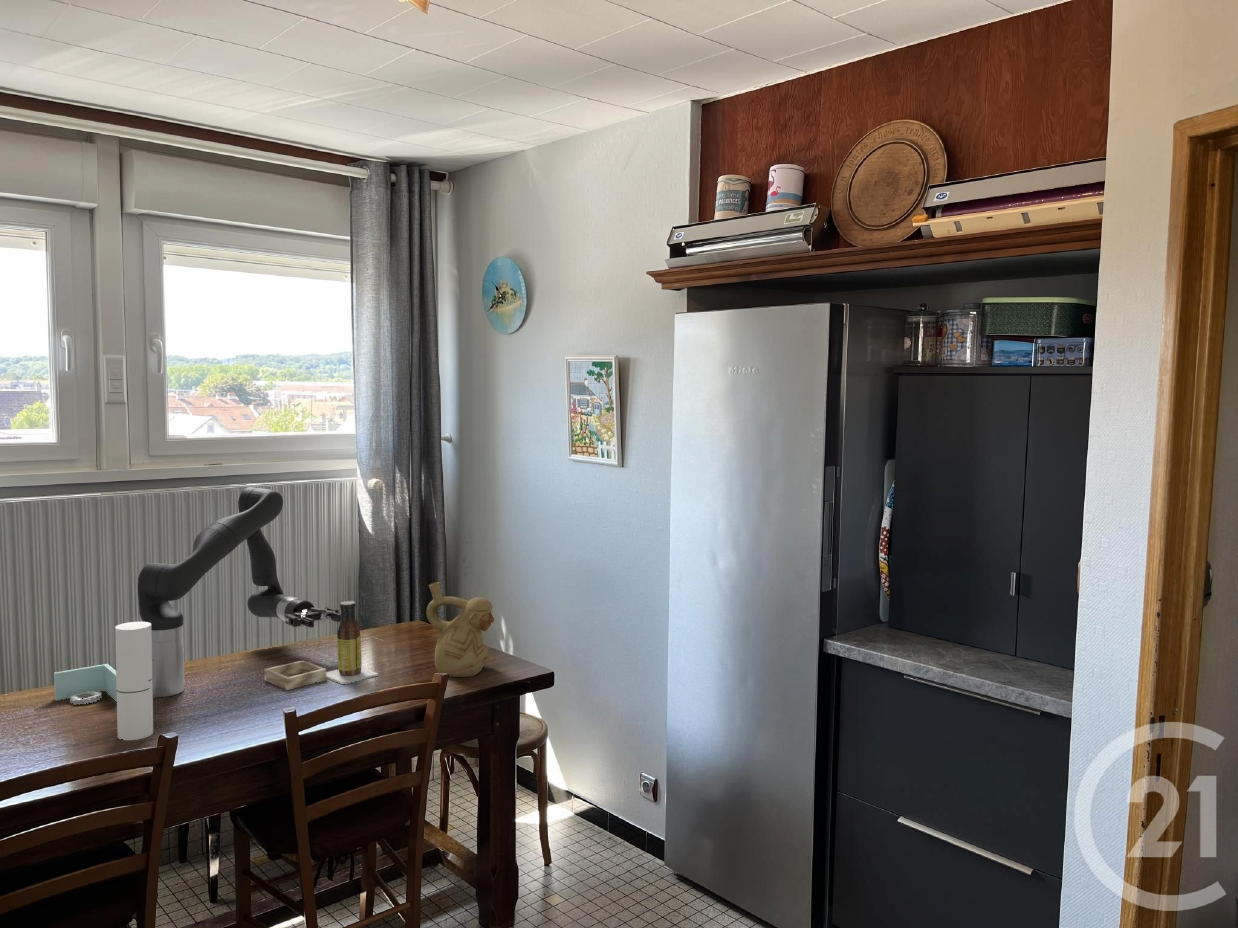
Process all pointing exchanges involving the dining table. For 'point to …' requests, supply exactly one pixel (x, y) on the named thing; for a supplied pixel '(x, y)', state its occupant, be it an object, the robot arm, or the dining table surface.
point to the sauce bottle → (349, 641)
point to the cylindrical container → (134, 680)
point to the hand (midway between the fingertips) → (326, 621)
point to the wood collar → (282, 672)
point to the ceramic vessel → (460, 634)
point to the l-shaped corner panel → (85, 684)
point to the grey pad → (345, 679)
